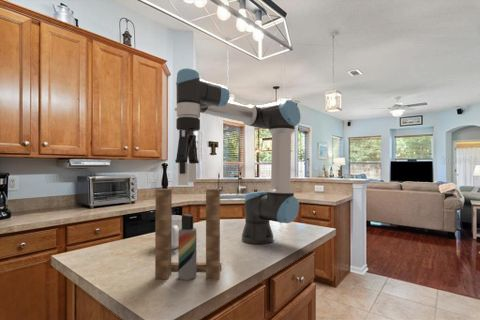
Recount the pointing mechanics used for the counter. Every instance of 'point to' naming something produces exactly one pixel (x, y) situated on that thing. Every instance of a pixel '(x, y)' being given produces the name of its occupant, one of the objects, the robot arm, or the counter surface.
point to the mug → (176, 229)
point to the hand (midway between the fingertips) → (188, 183)
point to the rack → (165, 235)
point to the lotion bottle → (187, 249)
